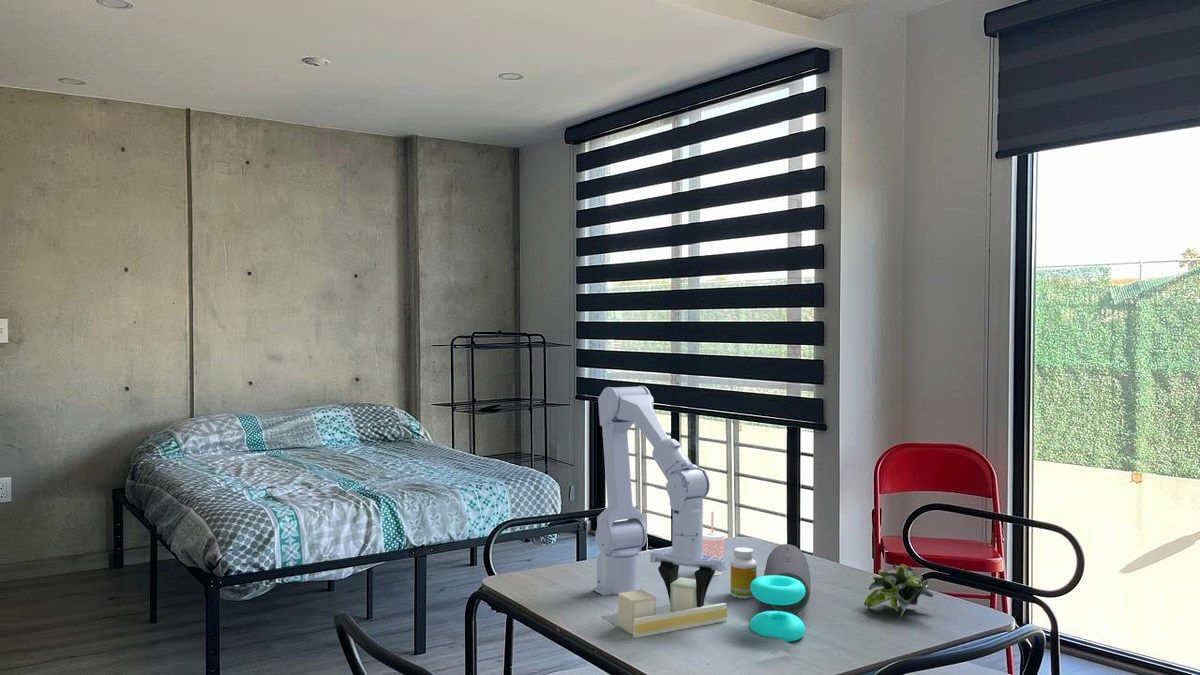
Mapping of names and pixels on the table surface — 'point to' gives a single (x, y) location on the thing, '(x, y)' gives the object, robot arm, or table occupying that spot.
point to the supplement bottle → (742, 572)
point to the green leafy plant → (898, 588)
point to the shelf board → (673, 619)
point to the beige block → (634, 607)
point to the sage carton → (683, 594)
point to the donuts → (778, 593)
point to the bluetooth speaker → (790, 572)
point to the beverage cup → (713, 543)
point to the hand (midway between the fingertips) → (686, 603)
